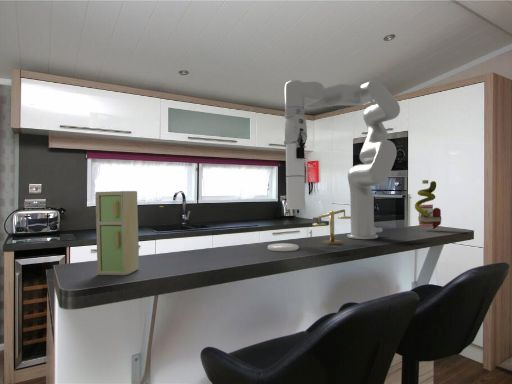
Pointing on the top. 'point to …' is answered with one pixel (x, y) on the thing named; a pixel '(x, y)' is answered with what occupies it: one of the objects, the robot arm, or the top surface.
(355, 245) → the top surface
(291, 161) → the cylindrical container
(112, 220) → the toy refrigerator
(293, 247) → the dish
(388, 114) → the robot arm
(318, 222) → the balance
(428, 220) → the snake in a can
